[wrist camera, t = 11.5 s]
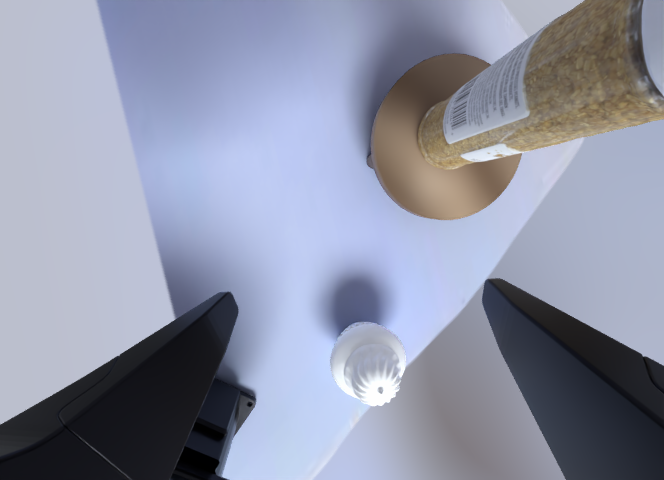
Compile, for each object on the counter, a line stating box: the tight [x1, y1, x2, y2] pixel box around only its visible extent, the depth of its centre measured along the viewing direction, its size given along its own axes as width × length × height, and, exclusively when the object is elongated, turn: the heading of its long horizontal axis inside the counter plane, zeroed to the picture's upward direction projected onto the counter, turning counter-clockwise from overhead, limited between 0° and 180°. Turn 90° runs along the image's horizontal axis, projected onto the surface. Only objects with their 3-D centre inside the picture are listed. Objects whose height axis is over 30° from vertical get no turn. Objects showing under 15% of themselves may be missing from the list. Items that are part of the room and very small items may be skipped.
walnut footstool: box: [367, 54, 522, 220], centre depth 19 cm, size 11×11×4 cm
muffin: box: [330, 322, 406, 406], centre depth 20 cm, size 6×6×7 cm
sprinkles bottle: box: [418, 0, 664, 170], centre depth 11 cm, size 5×5×13 cm
